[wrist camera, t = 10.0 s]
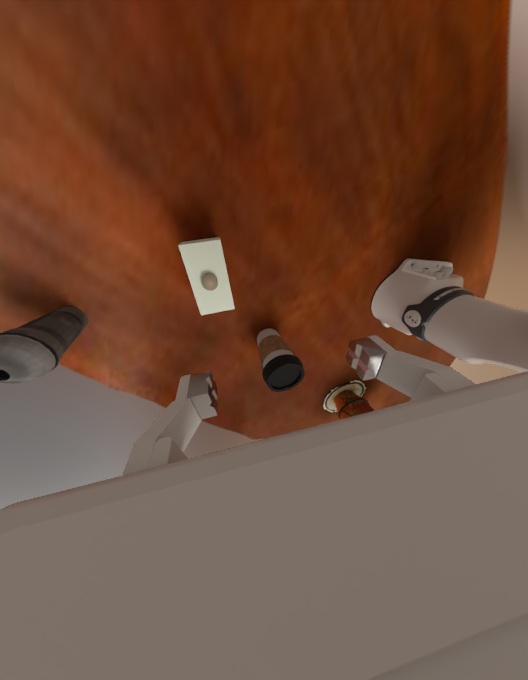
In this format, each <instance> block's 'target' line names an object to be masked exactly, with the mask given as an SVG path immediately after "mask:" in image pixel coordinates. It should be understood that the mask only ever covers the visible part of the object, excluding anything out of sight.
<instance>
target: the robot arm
mask: <svg viewBox="0 0 528 680" xmlns="http://www.w3.org/2000/svg"><path fill="white" fill-rule="evenodd" d="M453 270H454V268H453V264H452V263H450V262H446V261H433V260H420V259H406V260H405V261H404V262H403V263H402V264H401V265H400V266H399V268H398V269H397V270H396V271H395V272H394V273H393V274H391V275H390V276H389V277H388V278H387V279H386V280H385V281H384V282H383V283H382V284H381V285H380V286H379V288H378V289H377V291H376V293H375V295H374V297H373V300H372V305H371V310H372V313H373V315H374V317H376V318H377V319H379V320H380V321H381V323H382V325H383V326H385V327H390V326H391V327H393V328H395V329H397V330H399V331H401V332H403V333H405V334H407V335H412V334H413V335H414V336H416V337H417V338H419V339H420V340H423V341H425V342H427V343H432V344H434V345H436V346H437V347H439V348H441V349H443V350H444V351H446V352H448V353H449V354H451V355H453V356H454V357H456V358H458V359H460V360H461V361H463V362H466V363H470V364H485V363H493V364H497V365H500V366H504V367H507V368H510V369H513V370H515V371H518V372H520V373H519V374H515V375H511V376H507V377H503V378H500V379H496V380H492V381H488V382H484V383H480V384H475V383H473V382H472V381H470V380H469V379H467V378H466V377H464V376H463V375H462V374H460V373H459V372H457V371H456V370H454V369H453V368H451V367H448V366H445V365H442V364H439V363H436V362H433V361H429V360H426V359H423V358H420V357H417V356H414V355H411V354H408V353H404V352H401V351H396V350H395V349H393V348H392V347H391V346H389V345H388V344H387V343H386V342H384V341H383V340H382V339H381V338H379V337H378V336H375V335H374V336H370V337H366V338H361V339H357V340H352V341H350V342H349V345H348V347H349V348H350V349H349V350H348V352H347V355H346V358H347V362H348V364H349V365H350V366H351V367H352V368H354V369H356V373H357V375H358V376H359V377H360V378H361V379H362V380H363V381H364V380H369V379H374V378H377V379H378V380H380V381H382V382H384V383H385V384H387V385H389V386H391V387H393V388H394V389H396V390H398V391H400V392H402V393H403V394H405V395H407V396H409V397H411V400H410V402H406V403H402V404H399V405H395V406H391V407H387V408H383V409H379V410H375V411H371V412H368V413H364V414H360V415H356V416H352V417H348V418H344V419H340V420H337V421H333V422H329V423H325V424H321V425H317V426H313V427H309V428H306V429H302V430H298V431H294V432H290V433H286V434H282V435H278V436H274V437H271V438H267V439H263V440H259V441H255V442H251V443H247V444H243V445H240V446H236V447H232V448H228V449H224V450H220V451H216V452H212V453H208V454H205V455H201V456H197V457H193V458H189V459H188V458H187V457H186V456H185V454H184V453H183V452H184V450H185V448H186V447H187V445H188V443H189V441H190V440H191V438H192V436H193V434H194V433H195V431H196V429H197V427H198V426H199V424H200V422H201V421H202V420H201V419H205V418H209V417H213V416H216V415H217V410H218V404H217V402H216V399H217V398H218V393H217V387H216V383H215V381H214V380H213V375H212V373H211V371H205V372H200V373H195V374H191V375H185V376H182V377H181V378H180V382H179V386H178V391H177V395H176V399H175V401H174V402H172V403H171V404H170V405H169V406H168V407H167V408H166V409H165V410H164V412H162V414H161V415H160V416H159V417H158V418H157V419H156V420H155V421H154V422H153V423H152V425H151V426H150V427H149V428H148V429H147V430H146V431H145V432H144V433H143V434H142V436H141V437H140V438H139V439H138V440H137V441H136V442H135V443H134V445H133V448H132V450H131V453H130V456H129V459H128V461H127V464H126V467H125V470H124V472H123V475H122V476H119V477H115V478H111V479H107V480H104V481H99V482H96V483H92V484H88V485H84V486H81V487H76V488H72V489H68V490H65V491H61V492H57V493H53V494H49V495H46V496H41V497H37V498H33V499H29V500H25V501H21V502H17V503H14V504H12V505H9V506H7V507H5V508H3V509H1V510H0V680H528V310H523V309H518V308H514V307H510V306H506V305H503V304H499V303H495V302H492V301H489V300H485V299H482V298H480V296H481V295H479V296H478V297H476V294H472V293H471V292H469V291H468V290H466V289H463V283H464V281H463V278H462V276H459V275H456V274H452V271H453Z"/></svg>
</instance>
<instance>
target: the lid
mask: <svg viewBox="0 0 528 680" xmlns="http://www.w3.org/2000/svg"><path fill="white" fill-rule="evenodd" d="M178 247H179V250H180V253H181V256H182V259H183V262H184V265H185V268H186V271H187V274H188V277H189V280H190V283H191V286H192V289H193V292H194V295H195V298H196V301H197V304H198V308H199V311H200V314H201V315H205V314H210V313H216V312H221V311H226V310H232V309H235V308H234V303H233V298H232V293H231V289H230V284H229V279H228V274H227V269H226V264H225V259H224V255H223V250H222V245H221V240H220V237H216V238H208V239H201V240H193V241H186V242H181V243H180V244H179V245H178Z"/></svg>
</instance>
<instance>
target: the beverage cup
mask: <svg viewBox="0 0 528 680" xmlns="http://www.w3.org/2000/svg"><path fill="white" fill-rule="evenodd" d="M87 324H88V318H87V316H86V315H85V314H84V313H83V312H82V311H80V310H79V309H76V308H73V307H63V308H60V309H58V310H55V311H53V312H51V313H48V314H46V315H44V316H42V317H40V318H38V319H35V320H33V321H31V322H29V323H27V324H25V325H22V326H20V327H18V328H15V329H11V330H8V331H5V332H3V333H0V382H1V383H22V382H27V381H31V380H34V379H37V378H39V377H41V376H43V375H45V374H47V373H48V372H49V371H52V370H53V369H54V368H55V367H56V366H57V365H58V362H59V361H60V359H61V358H62V356H63V353H64V352H65V351H66V350H67V348H68V347H69V346H70V345H71V344H72V343H73V341H74V340H75V339H76V338H77V337H78V335H79V334H80V333H81V332H82V331H83V329H84V328H85V326H86V325H87Z"/></svg>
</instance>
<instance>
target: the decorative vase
mask: <svg viewBox="0 0 528 680" xmlns="http://www.w3.org/2000/svg"><path fill="white" fill-rule="evenodd" d="M364 386H365V385H364V384H363V382H361V381H356V380H355V381H351V382H350V383H349V384H345V385H342V386H340V387H336V388H335V389H334V390H331V393H330V394H328V395H327V397H326V398H325V401H324V402H325V403H324V405H323V407H324V410H325V409H327V411H330V412H334V411H335V412H336V411H338V414H339V418H340V419H344V418H348V417H352V416H356V415H360V414H364V413H368V412H371V411H375V410H374V409H373V408H372V407H371V406H370V405H369V403H368V401H367V400H364V399H363V398H362V395H363V393H364V392H365V389H366V387H364Z"/></svg>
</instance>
